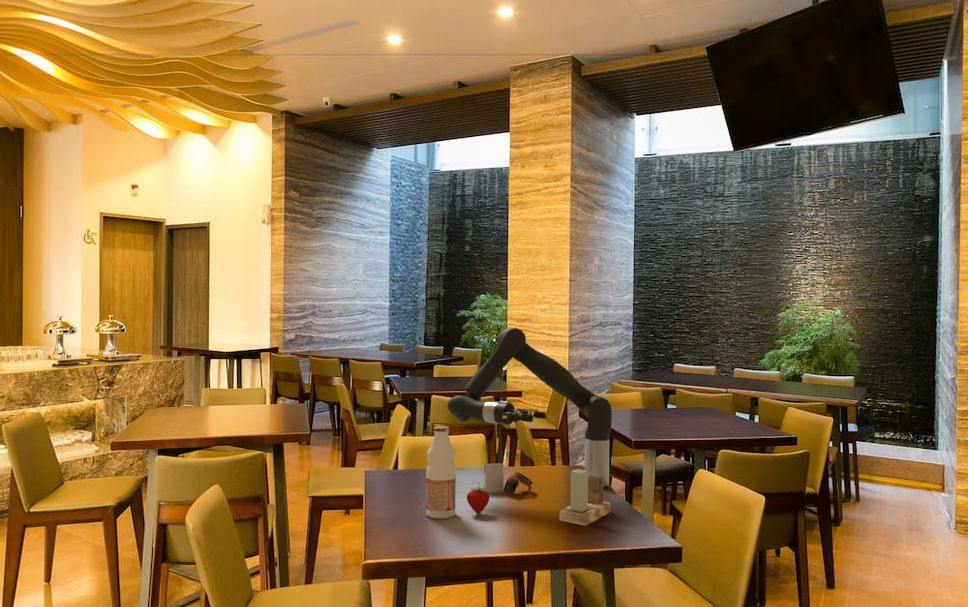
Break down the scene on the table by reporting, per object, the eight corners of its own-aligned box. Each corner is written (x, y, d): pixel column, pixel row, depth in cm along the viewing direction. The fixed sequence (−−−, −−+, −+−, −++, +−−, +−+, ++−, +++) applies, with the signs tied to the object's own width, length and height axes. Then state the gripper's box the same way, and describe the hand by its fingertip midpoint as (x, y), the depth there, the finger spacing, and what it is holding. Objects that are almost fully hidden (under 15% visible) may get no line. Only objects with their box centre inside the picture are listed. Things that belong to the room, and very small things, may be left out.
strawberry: (464, 512, 222) (464, 481, 222) (486, 510, 224) (487, 479, 224) (469, 517, 216) (469, 485, 216) (491, 515, 218) (492, 484, 218)
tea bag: (503, 492, 247) (503, 464, 247) (485, 493, 245) (485, 465, 245) (500, 489, 251) (501, 462, 251) (482, 490, 249) (483, 463, 249)
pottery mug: (505, 489, 253) (517, 470, 253) (526, 504, 249) (538, 484, 249) (495, 488, 242) (507, 468, 242) (517, 504, 238) (529, 483, 238)
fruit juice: (433, 521, 212) (434, 430, 213) (421, 513, 220) (421, 426, 221) (460, 516, 217) (461, 428, 217) (447, 509, 225) (448, 423, 225)
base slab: (585, 507, 229) (585, 474, 229) (610, 512, 223) (610, 478, 224) (559, 520, 214) (559, 485, 214) (585, 525, 209) (586, 489, 209)
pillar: (576, 506, 218) (576, 469, 218) (587, 509, 215) (588, 470, 216) (570, 509, 214) (570, 471, 215) (581, 512, 212) (582, 473, 212)
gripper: (487, 404, 232) (528, 408, 223) (509, 399, 244) (549, 403, 234) (486, 426, 232) (528, 431, 223) (509, 421, 243) (549, 425, 234)
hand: (539, 417), depth 228 cm, fingers open, 8 cm apart
